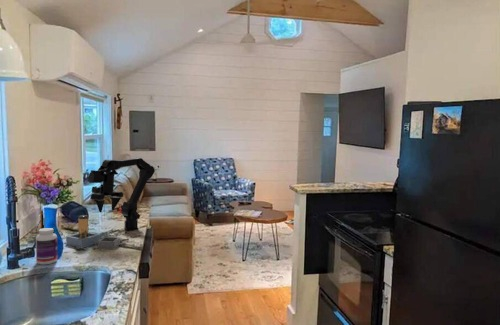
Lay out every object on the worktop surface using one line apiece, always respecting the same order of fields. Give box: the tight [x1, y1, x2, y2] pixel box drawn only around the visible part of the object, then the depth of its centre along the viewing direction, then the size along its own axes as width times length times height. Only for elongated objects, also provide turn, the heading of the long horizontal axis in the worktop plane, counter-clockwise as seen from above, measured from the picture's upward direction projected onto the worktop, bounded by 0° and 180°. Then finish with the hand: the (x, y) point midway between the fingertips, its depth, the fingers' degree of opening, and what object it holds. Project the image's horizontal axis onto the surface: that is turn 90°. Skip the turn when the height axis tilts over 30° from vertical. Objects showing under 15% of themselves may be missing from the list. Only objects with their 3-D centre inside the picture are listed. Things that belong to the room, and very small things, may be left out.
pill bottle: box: [35, 228, 58, 266], centre depth 161 cm, size 8×8×14 cm
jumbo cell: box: [78, 214, 89, 239], centre depth 188 cm, size 4×4×13 cm
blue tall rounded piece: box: [35, 197, 63, 236], centre depth 204 cm, size 15×10×20 cm
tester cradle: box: [97, 236, 121, 250], centre depth 185 cm, size 8×8×4 cm
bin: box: [65, 231, 101, 249], centre depth 189 cm, size 11×11×4 cm
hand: (106, 211), depth 205 cm, fingers open, 9 cm apart
